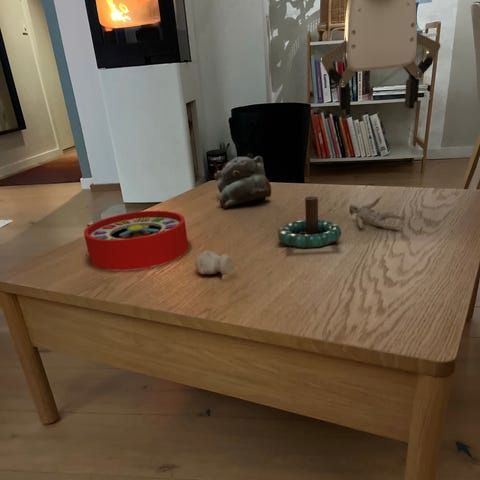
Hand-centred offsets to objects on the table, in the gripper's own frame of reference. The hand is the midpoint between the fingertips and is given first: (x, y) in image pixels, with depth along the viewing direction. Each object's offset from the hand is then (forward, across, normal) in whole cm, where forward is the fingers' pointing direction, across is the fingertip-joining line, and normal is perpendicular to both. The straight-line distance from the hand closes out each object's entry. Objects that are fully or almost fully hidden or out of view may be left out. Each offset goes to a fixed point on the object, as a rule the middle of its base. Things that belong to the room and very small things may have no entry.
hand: (377, 111), depth 75 cm
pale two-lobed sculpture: (+24, +28, +6) cm, 37 cm away
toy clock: (+23, +46, -8) cm, 52 cm away
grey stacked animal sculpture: (+23, +27, -43) cm, 56 cm away
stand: (+24, +11, -7) cm, 27 cm away
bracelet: (+21, +11, -8) cm, 25 cm away
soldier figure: (+24, -3, -18) cm, 30 cm away
